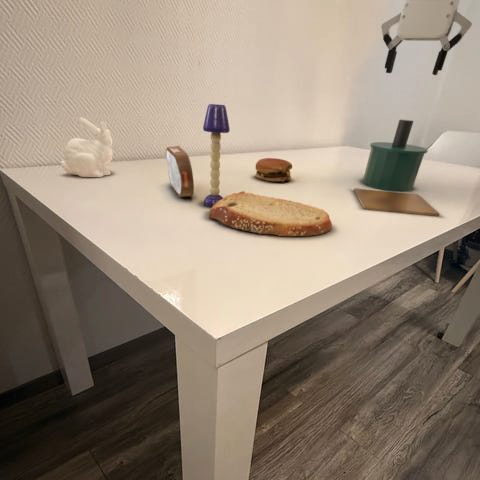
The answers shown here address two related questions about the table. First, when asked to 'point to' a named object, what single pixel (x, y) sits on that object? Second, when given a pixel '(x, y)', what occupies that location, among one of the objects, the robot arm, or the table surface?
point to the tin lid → (400, 141)
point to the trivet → (394, 202)
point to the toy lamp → (215, 147)
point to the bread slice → (270, 215)
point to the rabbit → (89, 152)
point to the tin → (180, 171)
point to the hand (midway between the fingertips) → (410, 73)
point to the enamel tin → (392, 170)
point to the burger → (273, 169)
